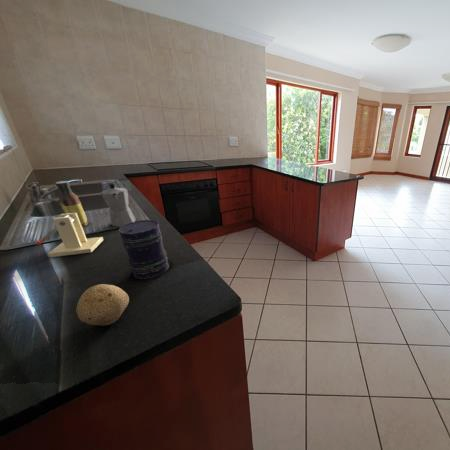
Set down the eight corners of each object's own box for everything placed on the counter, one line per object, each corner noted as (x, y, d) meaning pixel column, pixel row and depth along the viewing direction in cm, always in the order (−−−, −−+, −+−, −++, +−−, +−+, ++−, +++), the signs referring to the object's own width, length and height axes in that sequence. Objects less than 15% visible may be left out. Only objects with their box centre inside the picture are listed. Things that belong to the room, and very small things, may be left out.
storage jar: (151, 259, 80) (140, 218, 74) (176, 263, 78) (166, 221, 72) (124, 276, 71) (109, 231, 65) (151, 281, 69) (138, 235, 63)
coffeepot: (137, 225, 106) (125, 185, 99) (111, 230, 101) (97, 188, 94) (135, 214, 118) (124, 179, 110) (111, 218, 113) (99, 181, 105)
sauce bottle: (74, 224, 106) (56, 180, 99) (91, 222, 108) (75, 179, 101) (67, 229, 101) (47, 184, 93) (85, 227, 103) (67, 182, 95)
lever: (40, 246, 81) (32, 242, 79) (49, 240, 85) (42, 235, 84) (69, 223, 80) (62, 218, 79) (77, 217, 85) (70, 213, 84)
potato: (73, 339, 50) (54, 302, 46) (101, 309, 59) (87, 275, 55) (118, 336, 51) (103, 300, 47) (140, 307, 59) (129, 274, 55)
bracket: (49, 257, 80) (32, 222, 75) (66, 244, 89) (52, 212, 84) (91, 252, 84) (78, 219, 79) (103, 240, 92) (92, 209, 87)
